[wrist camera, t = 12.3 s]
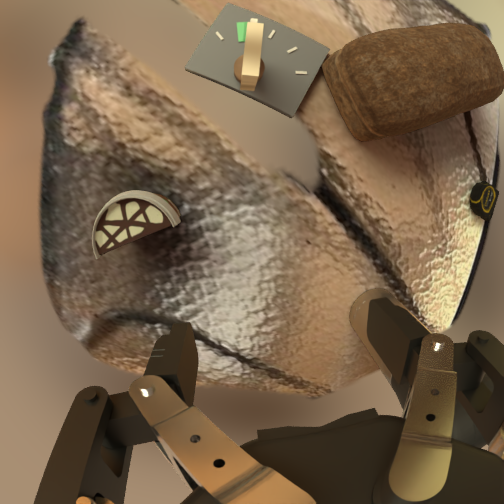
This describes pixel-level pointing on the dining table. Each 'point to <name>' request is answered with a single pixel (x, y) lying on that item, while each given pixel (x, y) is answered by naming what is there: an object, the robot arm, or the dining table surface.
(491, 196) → the tape measure
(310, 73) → the gauge plate
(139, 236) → the food container
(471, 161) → the dining table surface
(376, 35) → the bread
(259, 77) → the dial needle
